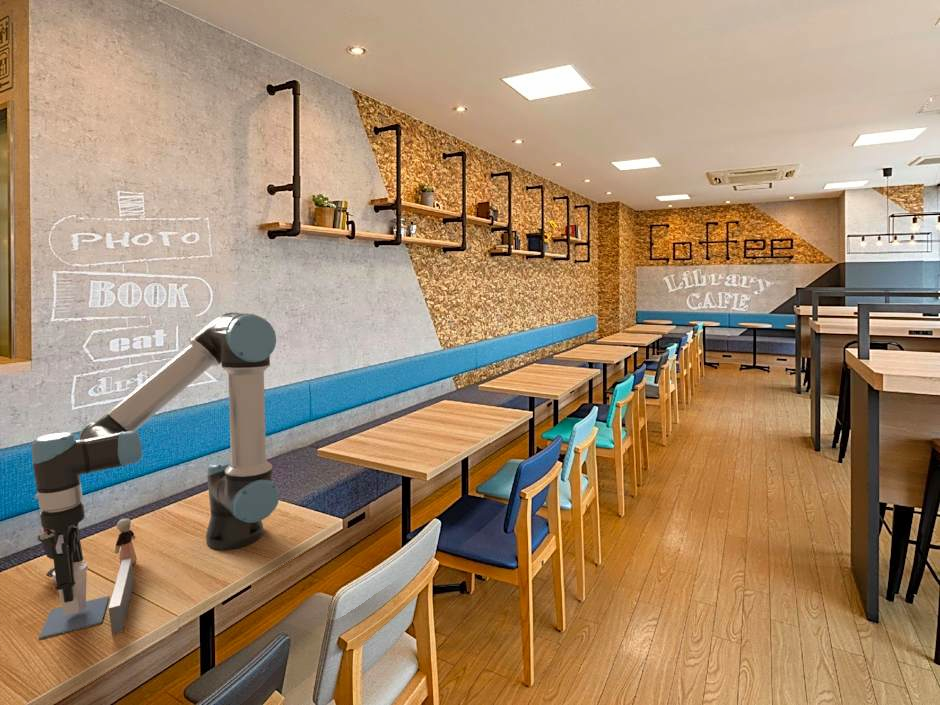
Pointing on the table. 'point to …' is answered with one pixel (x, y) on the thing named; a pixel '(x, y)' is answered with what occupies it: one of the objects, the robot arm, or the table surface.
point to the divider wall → (121, 596)
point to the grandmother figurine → (125, 541)
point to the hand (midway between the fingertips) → (74, 604)
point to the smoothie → (79, 582)
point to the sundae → (47, 544)
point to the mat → (75, 618)
